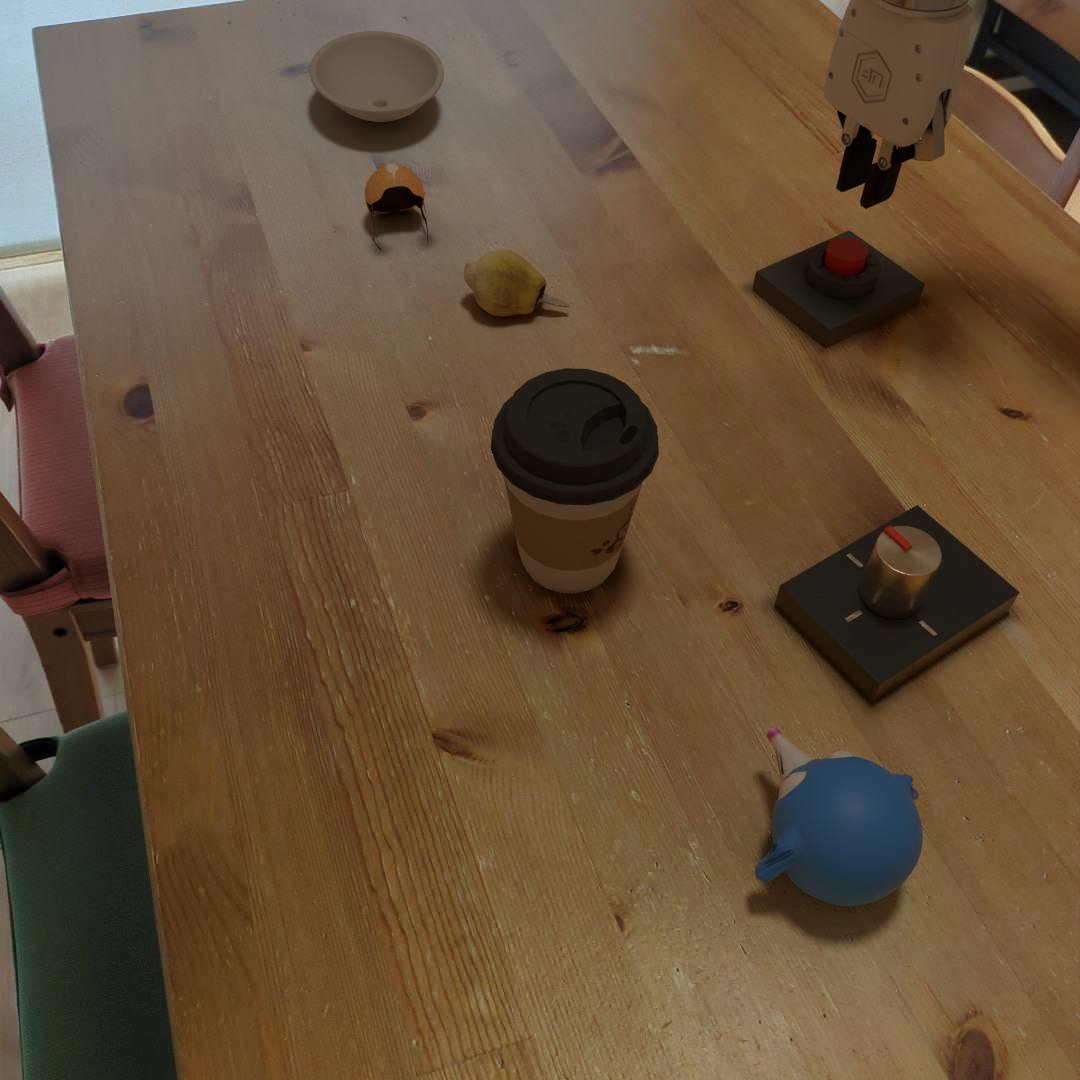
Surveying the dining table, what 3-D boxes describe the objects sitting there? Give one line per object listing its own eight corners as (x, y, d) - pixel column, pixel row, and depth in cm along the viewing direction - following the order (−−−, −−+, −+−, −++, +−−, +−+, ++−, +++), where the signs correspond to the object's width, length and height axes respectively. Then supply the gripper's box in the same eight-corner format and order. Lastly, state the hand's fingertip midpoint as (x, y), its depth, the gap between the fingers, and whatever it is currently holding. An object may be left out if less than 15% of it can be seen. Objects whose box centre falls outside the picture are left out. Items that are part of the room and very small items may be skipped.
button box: (844, 248, 110) (853, 213, 106) (918, 302, 104) (931, 267, 101) (751, 290, 105) (758, 255, 102) (824, 349, 100) (834, 313, 97)
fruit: (564, 337, 101) (455, 316, 100) (566, 312, 106) (462, 291, 105) (576, 277, 97) (464, 254, 97) (578, 253, 102) (471, 232, 102)
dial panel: (908, 525, 87) (918, 503, 85) (1008, 612, 82) (1021, 590, 80) (773, 605, 82) (780, 583, 80) (870, 703, 76) (880, 682, 74)
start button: (844, 248, 104) (848, 232, 102) (871, 268, 102) (876, 252, 100) (815, 261, 102) (819, 245, 101) (843, 281, 100) (847, 265, 99)
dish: (302, 82, 128) (296, 40, 125) (423, 65, 131) (420, 23, 128) (333, 164, 118) (326, 120, 114) (464, 142, 121) (462, 99, 117)
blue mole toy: (830, 724, 75) (860, 655, 69) (949, 873, 69) (994, 812, 62) (682, 800, 72) (698, 734, 65) (792, 965, 65) (823, 911, 59)
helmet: (431, 254, 113) (417, 178, 113) (435, 232, 106) (420, 151, 106) (374, 262, 112) (360, 185, 112) (375, 240, 105) (359, 158, 105)
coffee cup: (601, 642, 79) (615, 503, 68) (465, 579, 83) (456, 437, 71) (668, 535, 86) (691, 392, 74) (539, 481, 89) (542, 336, 78)
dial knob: (934, 601, 79) (957, 555, 75) (889, 629, 77) (910, 583, 73) (890, 560, 81) (910, 513, 77) (845, 586, 80) (863, 539, 76)
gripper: (810, -52, 85) (768, 164, 99) (969, 33, 77) (899, 256, 91) (880, -74, 88) (830, 139, 102) (1041, 6, 79) (962, 226, 94)
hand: (863, 192), depth 96 cm, fingers closed
